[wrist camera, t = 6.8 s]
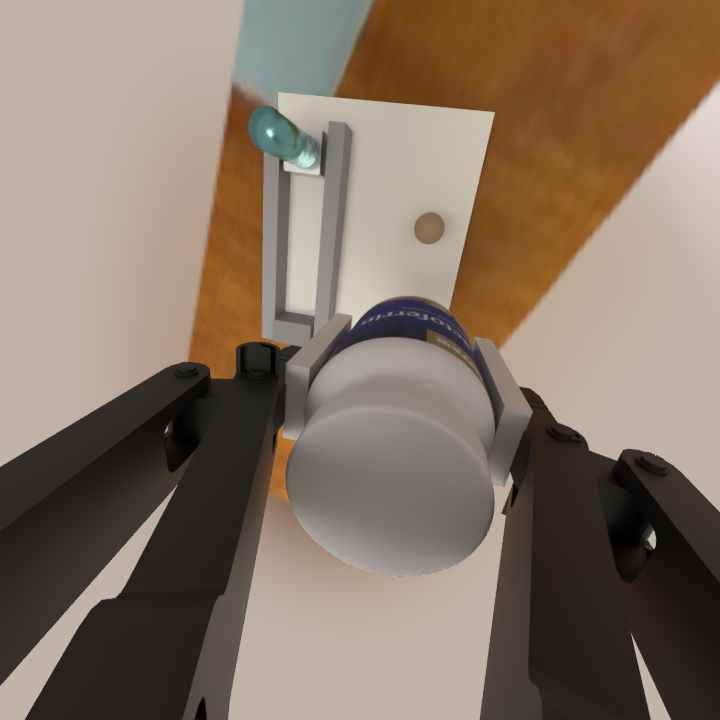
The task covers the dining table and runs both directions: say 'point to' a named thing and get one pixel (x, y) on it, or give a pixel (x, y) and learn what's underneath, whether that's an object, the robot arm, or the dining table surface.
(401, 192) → the board
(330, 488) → the pill bottle
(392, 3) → the dining table surface
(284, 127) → the pin
